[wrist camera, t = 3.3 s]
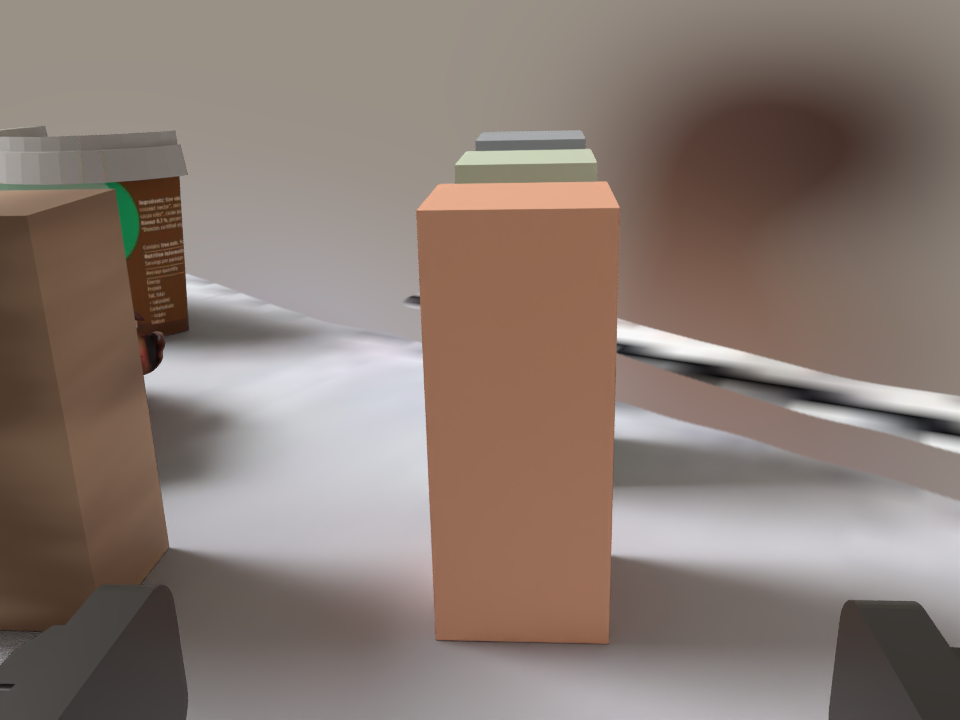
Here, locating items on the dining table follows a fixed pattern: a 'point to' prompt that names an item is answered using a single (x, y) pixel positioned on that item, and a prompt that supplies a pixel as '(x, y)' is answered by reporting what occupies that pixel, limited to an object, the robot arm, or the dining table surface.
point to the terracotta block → (520, 407)
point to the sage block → (526, 166)
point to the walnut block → (70, 411)
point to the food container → (141, 204)
